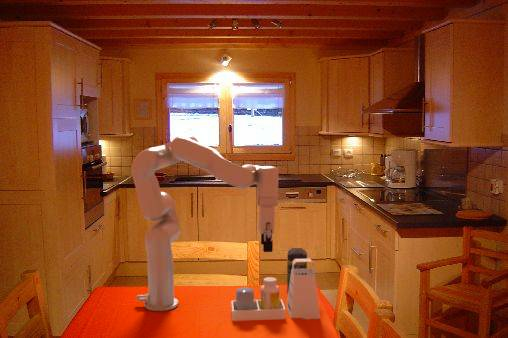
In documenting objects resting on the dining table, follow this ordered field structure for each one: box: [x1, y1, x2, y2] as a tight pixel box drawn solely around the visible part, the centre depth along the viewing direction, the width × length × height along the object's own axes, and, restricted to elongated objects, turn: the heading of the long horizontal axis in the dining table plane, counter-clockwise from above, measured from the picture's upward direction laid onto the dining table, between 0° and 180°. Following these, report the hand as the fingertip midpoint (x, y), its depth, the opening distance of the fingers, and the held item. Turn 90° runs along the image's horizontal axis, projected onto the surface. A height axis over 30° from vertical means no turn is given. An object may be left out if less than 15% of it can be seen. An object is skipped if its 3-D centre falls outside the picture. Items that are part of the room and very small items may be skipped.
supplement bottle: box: [260, 276, 280, 310], centre depth 188 cm, size 7×7×13 cm
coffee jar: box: [286, 247, 308, 294], centre depth 208 cm, size 10×8×19 cm
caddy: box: [230, 298, 286, 322], centre depth 188 cm, size 19×10×4 cm, turn 95°
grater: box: [285, 258, 321, 320], centre depth 190 cm, size 10×10×20 cm
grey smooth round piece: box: [235, 286, 255, 310], centre depth 187 cm, size 6×6×9 cm
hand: (266, 247), depth 188 cm, fingers open, 9 cm apart
